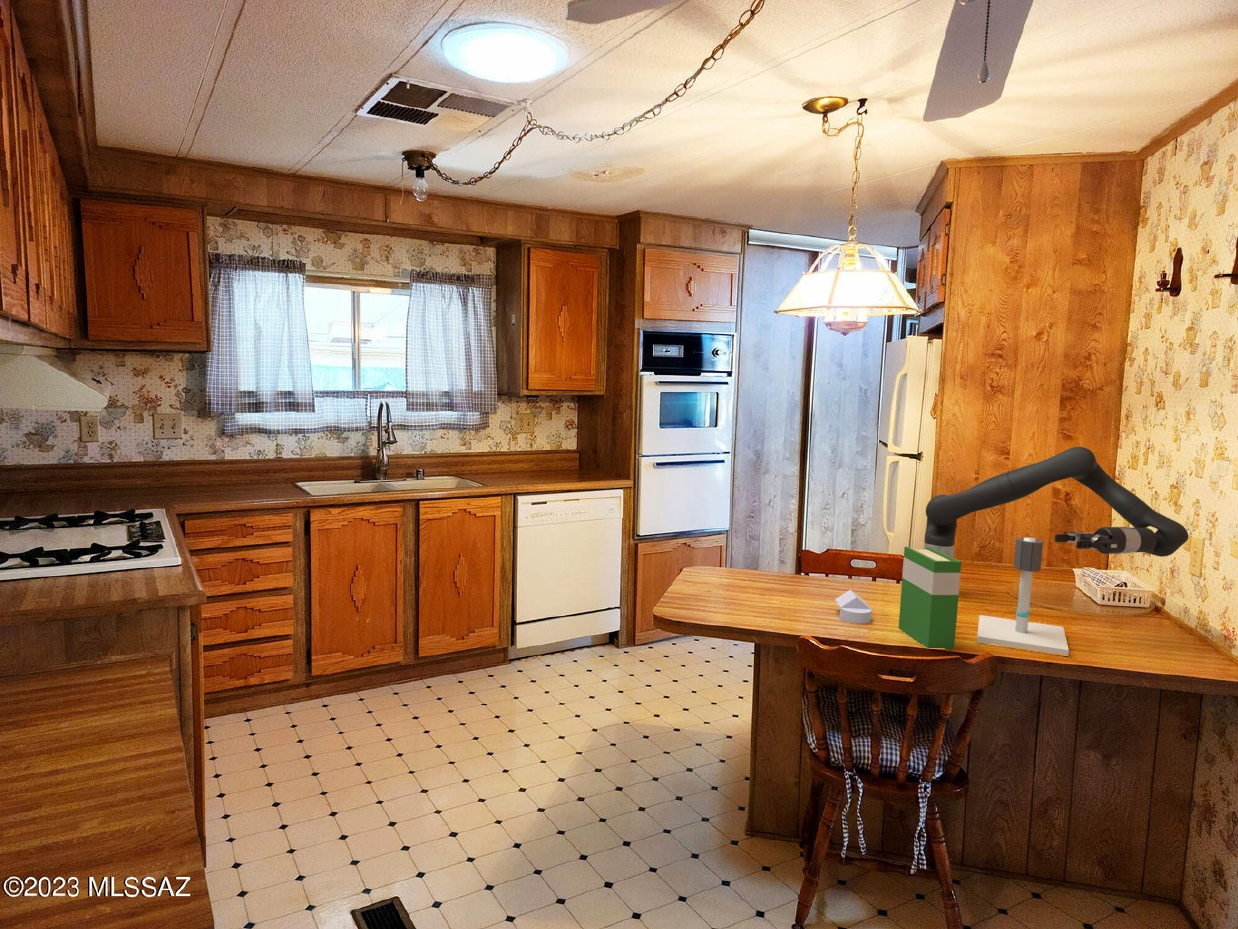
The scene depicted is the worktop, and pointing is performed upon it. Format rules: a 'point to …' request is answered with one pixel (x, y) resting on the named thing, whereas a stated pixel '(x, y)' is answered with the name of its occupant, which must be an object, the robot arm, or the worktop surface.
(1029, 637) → the post board
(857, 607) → the wedge on round base
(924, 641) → the hardback book
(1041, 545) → the collar
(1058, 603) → the worktop surface
